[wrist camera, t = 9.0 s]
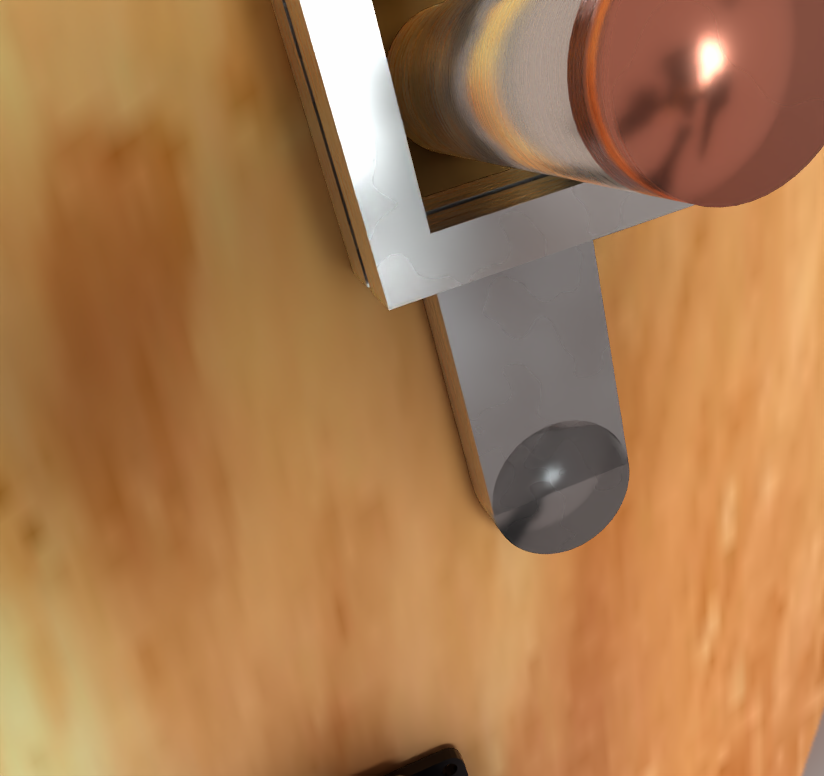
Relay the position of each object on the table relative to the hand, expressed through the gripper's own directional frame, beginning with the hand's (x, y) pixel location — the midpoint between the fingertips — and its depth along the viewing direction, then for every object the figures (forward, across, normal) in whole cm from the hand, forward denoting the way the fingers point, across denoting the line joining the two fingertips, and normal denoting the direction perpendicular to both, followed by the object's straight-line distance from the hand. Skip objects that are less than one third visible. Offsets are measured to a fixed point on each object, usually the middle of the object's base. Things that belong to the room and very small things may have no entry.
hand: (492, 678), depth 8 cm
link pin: (+12, -5, -5) cm, 14 cm away
